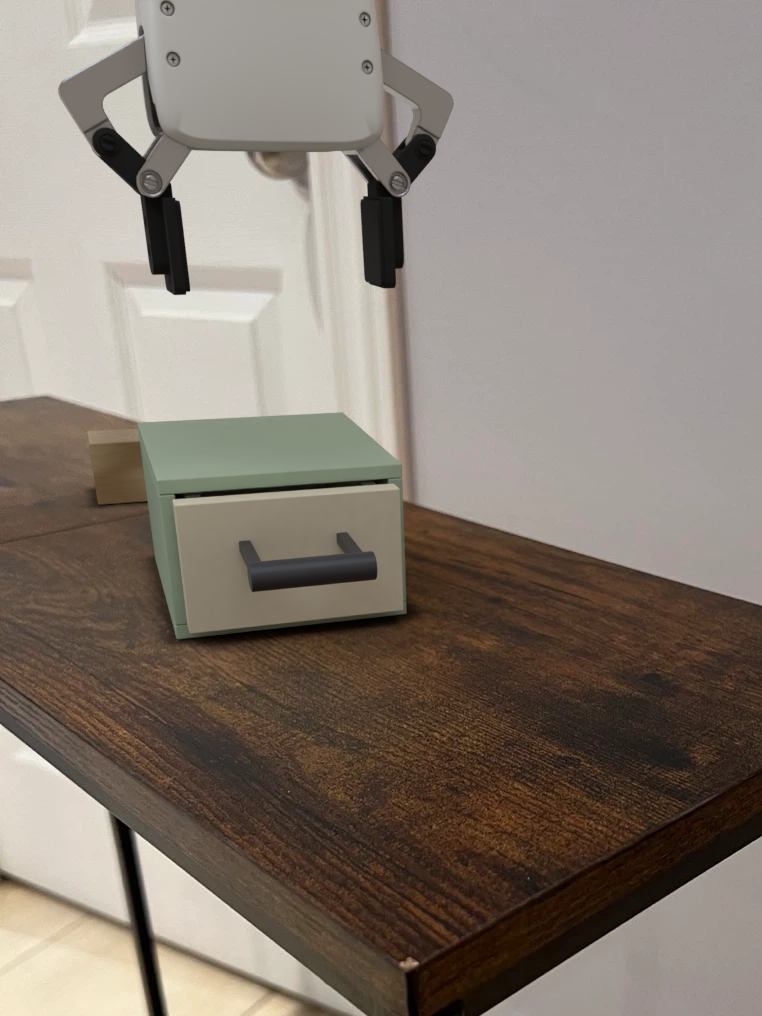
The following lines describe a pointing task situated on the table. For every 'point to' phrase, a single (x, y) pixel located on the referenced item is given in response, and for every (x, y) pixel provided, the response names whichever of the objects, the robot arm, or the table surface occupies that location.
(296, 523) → the drawer
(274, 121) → the robot arm
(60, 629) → the table surface
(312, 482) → the cabinet
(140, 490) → the block
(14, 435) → the table surface
